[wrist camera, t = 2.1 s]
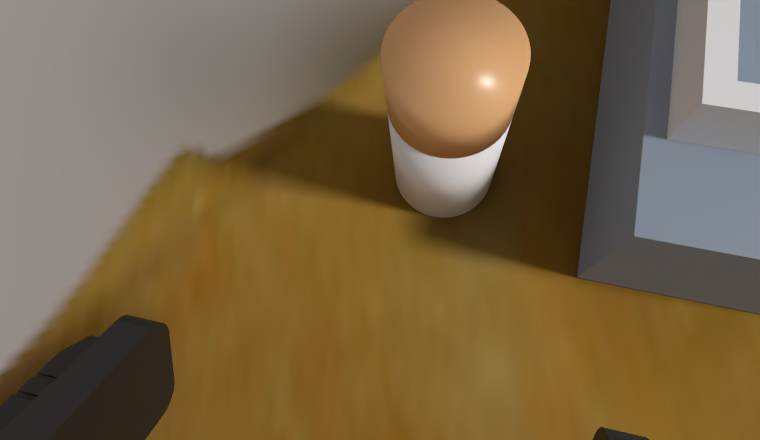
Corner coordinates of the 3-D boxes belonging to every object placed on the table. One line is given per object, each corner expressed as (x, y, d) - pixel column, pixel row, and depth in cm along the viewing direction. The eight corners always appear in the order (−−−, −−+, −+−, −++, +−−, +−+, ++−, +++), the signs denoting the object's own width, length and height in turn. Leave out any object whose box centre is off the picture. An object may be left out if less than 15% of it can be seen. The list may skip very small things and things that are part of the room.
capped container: (498, 137, 27) (540, 1, 18) (482, 226, 26) (518, 130, 16) (405, 121, 28) (397, -18, 18) (385, 207, 26) (365, 105, 17)
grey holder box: (809, -42, 29) (985, -238, 20) (811, 324, 23) (1057, 282, 14) (618, -64, 30) (702, -256, 21) (576, 277, 25) (666, 212, 16)
